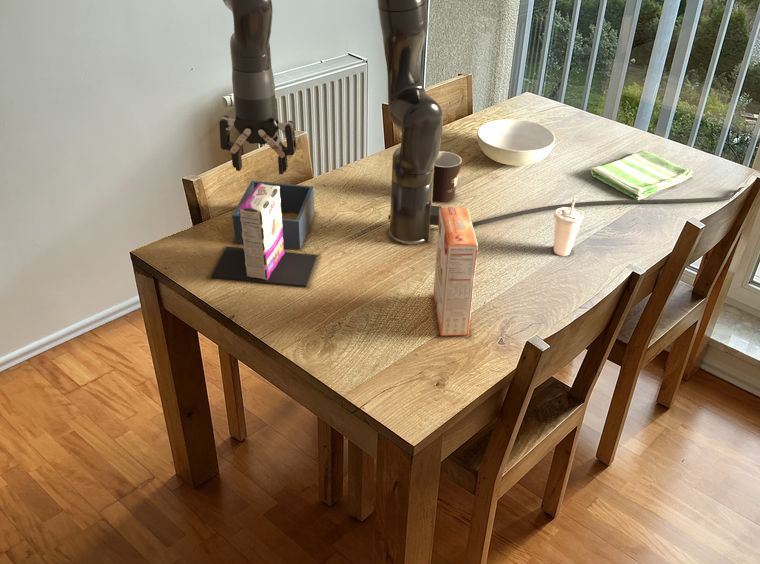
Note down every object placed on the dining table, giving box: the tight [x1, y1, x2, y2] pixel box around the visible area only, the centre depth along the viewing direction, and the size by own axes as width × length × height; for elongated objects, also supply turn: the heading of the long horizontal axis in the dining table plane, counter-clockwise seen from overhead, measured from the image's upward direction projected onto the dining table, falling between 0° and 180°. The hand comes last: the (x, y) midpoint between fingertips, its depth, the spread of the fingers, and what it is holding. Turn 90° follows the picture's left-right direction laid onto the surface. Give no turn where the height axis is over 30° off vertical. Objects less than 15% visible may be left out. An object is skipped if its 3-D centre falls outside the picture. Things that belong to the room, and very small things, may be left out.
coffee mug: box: [433, 150, 463, 204], centre depth 198 cm, size 12×9×10 cm
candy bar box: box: [239, 183, 286, 280], centre depth 166 cm, size 11×5×16 cm, turn 169°
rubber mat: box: [210, 246, 318, 288], centre depth 171 cm, size 20×12×1 cm, turn 85°
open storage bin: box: [231, 180, 315, 250], centre depth 182 cm, size 15×17×7 cm
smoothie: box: [553, 196, 584, 257], centre depth 178 cm, size 6×6×14 cm
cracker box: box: [433, 206, 479, 337], centre depth 154 cm, size 14×6×21 cm, turn 5°
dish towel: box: [590, 149, 694, 200], centre depth 214 cm, size 18×23×3 cm
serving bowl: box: [476, 118, 556, 167], centre depth 218 cm, size 21×21×7 cm
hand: (260, 171), depth 158 cm, fingers open, 8 cm apart
